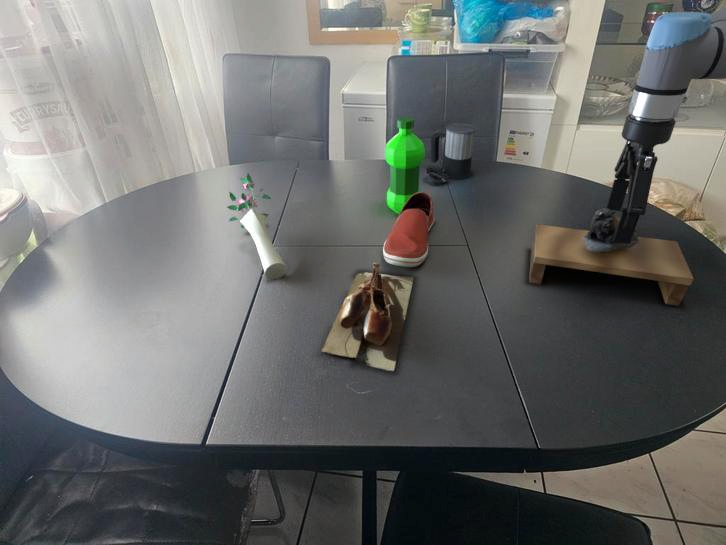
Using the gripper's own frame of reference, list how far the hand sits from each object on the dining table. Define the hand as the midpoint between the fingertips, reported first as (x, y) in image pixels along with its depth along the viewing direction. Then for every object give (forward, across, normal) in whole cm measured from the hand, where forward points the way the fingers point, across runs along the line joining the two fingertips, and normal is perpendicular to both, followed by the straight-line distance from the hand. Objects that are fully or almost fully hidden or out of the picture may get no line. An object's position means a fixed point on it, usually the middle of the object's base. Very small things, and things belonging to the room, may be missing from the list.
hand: (616, 225), depth 89 cm
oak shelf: (+13, 0, 0) cm, 13 cm away
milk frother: (+12, +45, +40) cm, 62 cm away
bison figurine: (+6, 0, 0) cm, 6 cm away
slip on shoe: (+12, +2, +42) cm, 44 cm away
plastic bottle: (+12, +19, +48) cm, 53 cm away
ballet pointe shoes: (+12, -26, +44) cm, 52 cm away
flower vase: (+12, -8, +78) cm, 80 cm away
